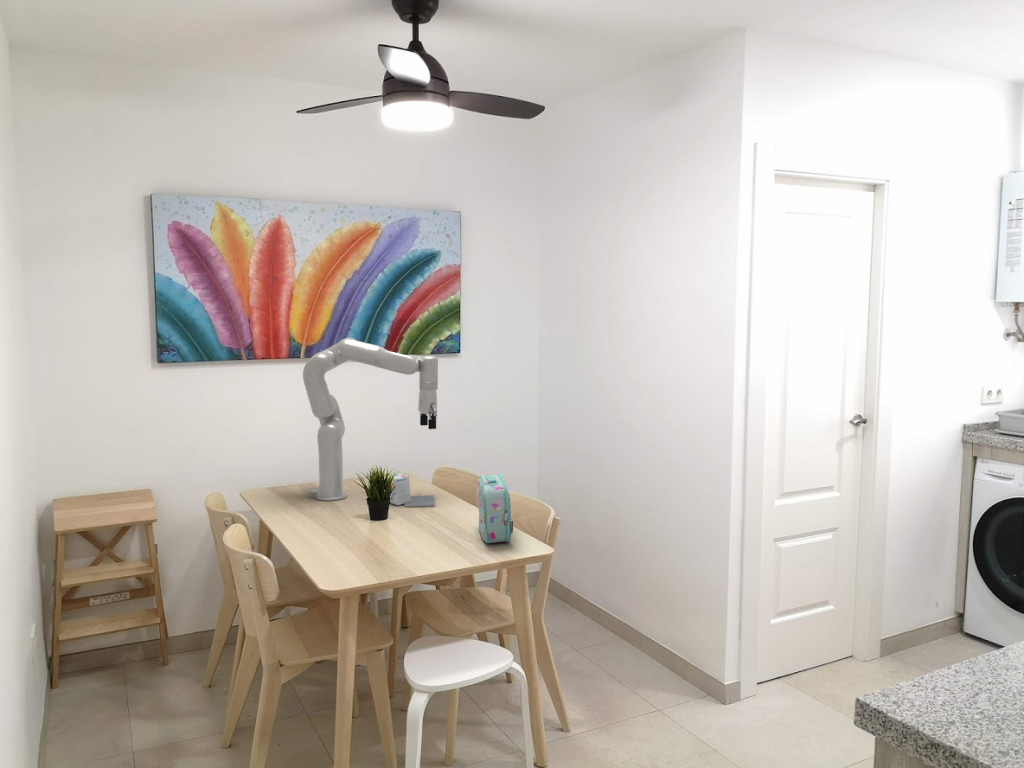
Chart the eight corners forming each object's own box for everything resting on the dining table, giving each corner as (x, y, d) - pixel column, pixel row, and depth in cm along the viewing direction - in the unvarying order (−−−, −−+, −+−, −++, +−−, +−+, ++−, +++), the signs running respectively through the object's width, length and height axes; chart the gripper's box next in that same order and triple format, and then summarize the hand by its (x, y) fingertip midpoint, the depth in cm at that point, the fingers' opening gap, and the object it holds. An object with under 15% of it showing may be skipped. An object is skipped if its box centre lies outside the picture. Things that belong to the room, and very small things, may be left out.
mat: (404, 507, 308) (404, 506, 308) (404, 497, 324) (404, 495, 324) (435, 506, 310) (435, 505, 310) (433, 496, 326) (433, 495, 325)
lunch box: (514, 547, 260) (515, 484, 258) (483, 548, 259) (484, 485, 256) (504, 524, 286) (504, 467, 284) (476, 525, 285) (476, 467, 283)
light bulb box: (382, 501, 317) (380, 475, 316) (396, 497, 322) (394, 472, 320) (397, 505, 309) (395, 478, 308) (411, 501, 314) (409, 475, 313)
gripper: (412, 383, 327) (412, 424, 329) (427, 388, 312) (426, 430, 313) (429, 383, 330) (429, 423, 332) (444, 387, 315) (444, 429, 317)
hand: (428, 427), depth 323 cm, fingers open, 9 cm apart
